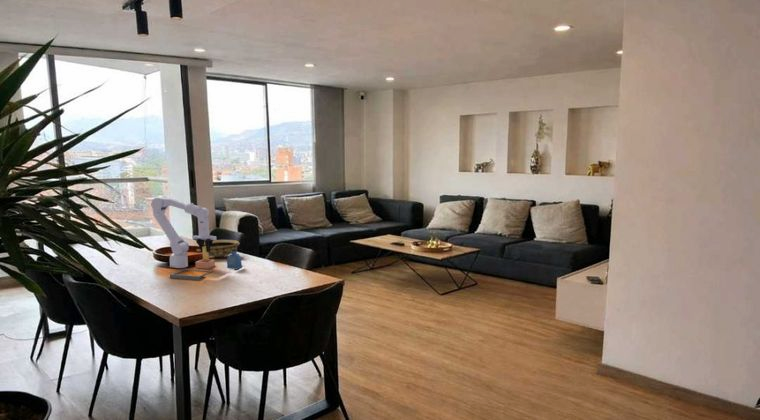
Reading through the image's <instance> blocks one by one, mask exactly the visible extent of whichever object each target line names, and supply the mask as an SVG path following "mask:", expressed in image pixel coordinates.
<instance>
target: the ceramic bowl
mask: <svg viewBox="0 0 760 420" xmlns="http://www.w3.org/2000/svg"><path fill="white" fill-rule="evenodd" d="M204 246H206V244H205V241H204ZM238 246H240V242H239V241H238V240H234V239H217V240H213V242H212V244H211V247H210V252H208V255H209V257H213V260H223V259H226V258H227V256H229V255H231V249H232V248H236V249H237V250H238ZM196 252H201V250H200V248H198V249H196Z"/></svg>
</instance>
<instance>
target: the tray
mask: <svg viewBox="0 0 760 420" xmlns="http://www.w3.org/2000/svg"><path fill="white" fill-rule="evenodd" d="M185 271H189V272H190V271H191V272H201V273H202V274H200V275H191V274H190V275H188V274H179V273H182V272H185ZM213 272H214V271H213V270H207V269H204V270H203V269H194V268H193V269H192V268H191V269H190V268H182V269H181V270H179V271H175V272H173V273H170V274H169V278H170V279H175V280H176V279H177V280H189V281H190V280H191V281H201V280H203V279H206V278H207V276H206V275H208V274H211V273H213Z"/></svg>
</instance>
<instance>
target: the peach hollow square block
mask: <svg viewBox="0 0 760 420" xmlns="http://www.w3.org/2000/svg"><path fill="white" fill-rule="evenodd" d="M215 261H216V259H210V258H209V259H208V260H203V258H202V259H199V260H197V261H195V268H196V269H204V270H207V269H210V268H212V267H215V266H216V262H215Z"/></svg>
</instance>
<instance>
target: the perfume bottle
mask: <svg viewBox="0 0 760 420" xmlns="http://www.w3.org/2000/svg"><path fill="white" fill-rule="evenodd" d="M242 263H243V262H242V257H241V255H240V254H239V253H238V248H237V249H236V248H232V249H231V254H229V255H228V257H227V259H226V266H227V268H232V269H233V268H234V271H239V270H240V269H241V270H242V269H243V266H242Z"/></svg>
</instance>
